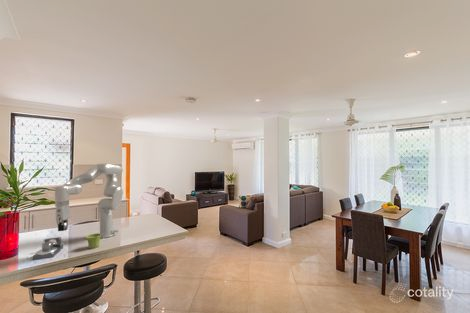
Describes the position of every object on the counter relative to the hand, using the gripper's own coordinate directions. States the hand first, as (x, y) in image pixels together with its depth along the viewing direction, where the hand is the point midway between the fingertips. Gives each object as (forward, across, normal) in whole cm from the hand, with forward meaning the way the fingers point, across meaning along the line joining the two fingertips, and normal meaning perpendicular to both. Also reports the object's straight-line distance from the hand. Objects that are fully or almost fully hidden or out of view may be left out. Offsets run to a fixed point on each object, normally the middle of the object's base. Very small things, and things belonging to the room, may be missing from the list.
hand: (63, 229), depth 149 cm
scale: (+17, +3, +10) cm, 20 cm away
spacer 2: (+1, 0, 0) cm, 1 cm away
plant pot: (+17, +5, -17) cm, 25 cm away
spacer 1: (+14, +1, +10) cm, 17 cm away
